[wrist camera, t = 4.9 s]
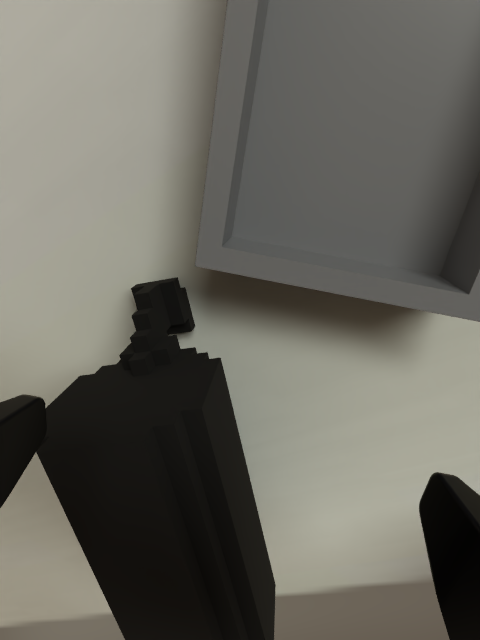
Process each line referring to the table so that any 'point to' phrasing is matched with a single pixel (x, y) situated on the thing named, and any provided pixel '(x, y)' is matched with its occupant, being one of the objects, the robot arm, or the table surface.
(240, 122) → the gray open-top storage bin
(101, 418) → the black stepped block
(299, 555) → the table surface
